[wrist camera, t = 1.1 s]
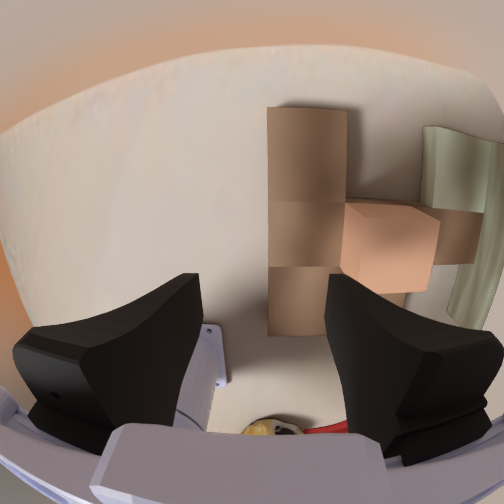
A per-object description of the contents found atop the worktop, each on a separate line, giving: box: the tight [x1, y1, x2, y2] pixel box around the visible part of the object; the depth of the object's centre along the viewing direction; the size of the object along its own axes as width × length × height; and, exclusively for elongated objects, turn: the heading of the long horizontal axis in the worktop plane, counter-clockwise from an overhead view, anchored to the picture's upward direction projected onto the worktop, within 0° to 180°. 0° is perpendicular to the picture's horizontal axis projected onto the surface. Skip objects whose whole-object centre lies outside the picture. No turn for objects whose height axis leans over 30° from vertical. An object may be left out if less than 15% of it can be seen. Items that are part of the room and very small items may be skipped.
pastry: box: [241, 419, 303, 435], centre depth 28 cm, size 9×7×4 cm
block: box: [340, 203, 440, 294], centre depth 16 cm, size 5×4×4 cm
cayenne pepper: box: [302, 420, 348, 434], centre depth 28 cm, size 12×5×2 cm, turn 82°
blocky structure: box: [267, 107, 504, 336], centre depth 17 cm, size 19×16×5 cm
